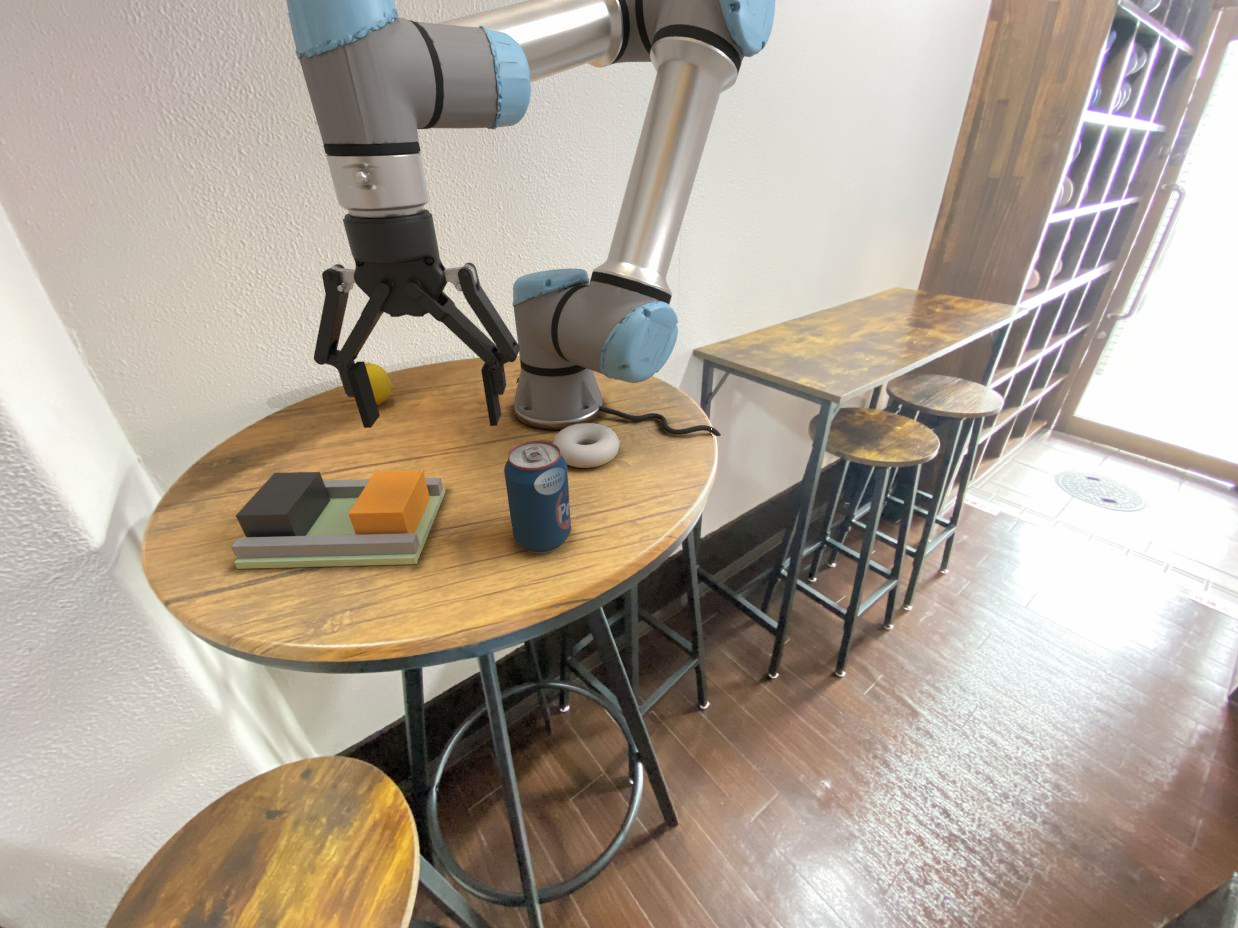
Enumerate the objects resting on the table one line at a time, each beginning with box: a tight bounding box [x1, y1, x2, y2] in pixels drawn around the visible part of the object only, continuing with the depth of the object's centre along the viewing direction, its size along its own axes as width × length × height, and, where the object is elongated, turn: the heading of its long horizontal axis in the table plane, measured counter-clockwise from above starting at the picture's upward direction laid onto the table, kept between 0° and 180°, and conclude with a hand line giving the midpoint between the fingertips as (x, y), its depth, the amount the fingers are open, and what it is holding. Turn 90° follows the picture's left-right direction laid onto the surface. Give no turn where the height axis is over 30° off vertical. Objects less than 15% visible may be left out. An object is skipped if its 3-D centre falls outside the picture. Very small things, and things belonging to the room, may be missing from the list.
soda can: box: [503, 440, 572, 555], centre depth 61 cm, size 7×7×12 cm
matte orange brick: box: [348, 469, 430, 535], centre depth 65 cm, size 6×9×4 cm
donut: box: [552, 422, 621, 469], centre depth 80 cm, size 10×4×10 cm
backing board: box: [230, 471, 446, 570], centre depth 65 cm, size 20×14×6 cm
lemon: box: [365, 361, 392, 406], centre depth 92 cm, size 6×6×8 cm
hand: (434, 421), depth 59 cm, fingers open, 13 cm apart
